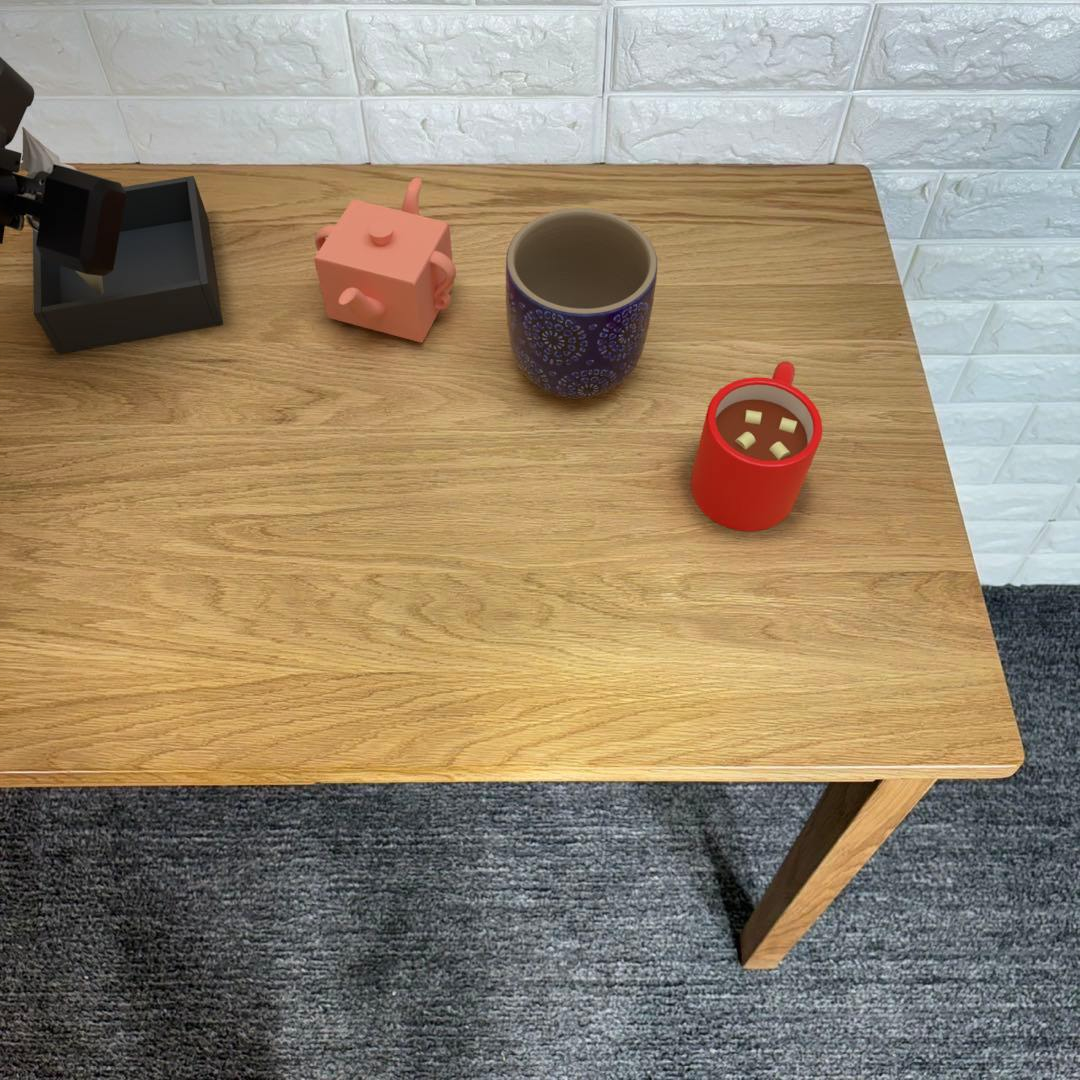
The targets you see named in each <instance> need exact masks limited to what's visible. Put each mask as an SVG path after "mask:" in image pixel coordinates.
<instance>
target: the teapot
mask: <svg viewBox="0 0 1080 1080" xmlns="http://www.w3.org/2000/svg"><path fill="white" fill-rule="evenodd" d="M422 182H423V180H422V178H421V177H419V176H417V177H414V178H413V179H412V180H411V181H409V184H408V186H407V188H406V191H405V193H404V198H403V201H402V205H401V209H400V210H399V209H396V208H391V207H387V206H383V205H379V204H374V203H370V202H367V201H362V200H357V199H351V201H350V203H349V205H348V206H347V207H346V209H345V210H344V212H343V213H342V215H341V217H340V218H339V219H338V221H337V222H336V224H335V225H333V224H330V225H325V226H323V227H322V228H320V229H319V230H318V231H317V234H316V236H315V239H314V244H315V247H316V249H317V251H318V252H317V253H316V255H315V256H314V258H313V261H314V265H315V269H316V273H317V277H318V282H319V286H320V290H321V296H322V299H323V303H324V307H325V311H326V315H327V316H326V317H327V318H329V319H332V320H336V321H339V322H344V323H348V324H350V325H354V326H358V327H362V328H366V329H369V330H371V331H376V332H380V333H384V334H387V335H391V336H395V337H398V338H399V337H400V338H403V339H407V340H410V341H414V342H418V343H423V342H424V340H425V339H426V336H427V335H428V333H429V331H430V329H431V327H432V326H433V324H434V322H435V320H436V318H437V317H438V315H439V313H440V311H445V310H446V309H448V308H449V307H450V305H451V304H452V297H451V295H450V292H451V290H452V289H453V286H454V285H455V279H456V277H457V268H456V265H455V263H454V262H453V253H452V251H453V250H452V240H451V239H452V238H451V227H450V223H449V222H447V221H442V220H439V219H434V218H431V217H427V216H423V215H421V214H420V207H419V199H420V198H419V197H420V192H421V188H422V184H423V183H422Z"/></svg>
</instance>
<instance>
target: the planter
mask: <svg viewBox="0 0 1080 1080" xmlns="http://www.w3.org/2000/svg"><path fill="white" fill-rule="evenodd" d="M657 275H658V256H657V252H656V249H655V247H654V245H653V243H652V241H651V240H650V239H649V237H648V236H647V235H646V234H645V232H644V231H642V230H641V229H640V228H639V227H638V226H636V224H634V223H632V222H631V221H629V220H627V219H626V218H623V217H622V216H619V215H617V214H614V213H611V212H608V211H604V210H600V209H594V208H587V207H586V208H583V207H582V208H581V207H577V208H576V207H574V208H573V207H572V208H563V209H559V210H558V209H557V210H554V211H551V212H548V213H545V214H542V215H540V216H538V217H536V218H534V219H532V220H531V221H529V222H527V223H526V224H524V225H523V226H522V227H521V228H520V229H519V230H518V231H517V232H516V233H515V235H514V236H513V237H512V239H511V241H510V243H509V246H508V248H507V251H506V257H505V304H506V305H505V306H506V307H505V308H506V321H507V323H506V325H507V331H508V332H507V333H508V339H509V344H510V349H511V353H512V355H513V358H514V361H515V363H516V365H517V366H518V368H519V369H520V371H521V372H522V373H523V375H524V376H525V377H526V378H527V379H528V380H529V381H530V382H531V383H532V384H534V385H535V386H536V387H538V389H541V391H544V392H546V393H548V394H550V395H553V396H557V397H559V398H564V399H571V400H582V399H583V400H584V399H590V398H594V397H598V396H601V395H604V394H606V393H608V392H610V391H612V390H613V389H615V388H617V387H618V386H620V385H621V384H622V383H623V382H624V381H625V380H626V379H627V378H628V377H629V376H630V375H631V374H632V373H633V372H634V371H635V368H636V367H637V365H638V363H639V361H640V359H641V357H642V355H643V350H644V348H645V344H646V340H647V337H648V333H649V328H650V321H651V316H652V310H653V306H654V298H655V292H656V285H657Z"/></svg>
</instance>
